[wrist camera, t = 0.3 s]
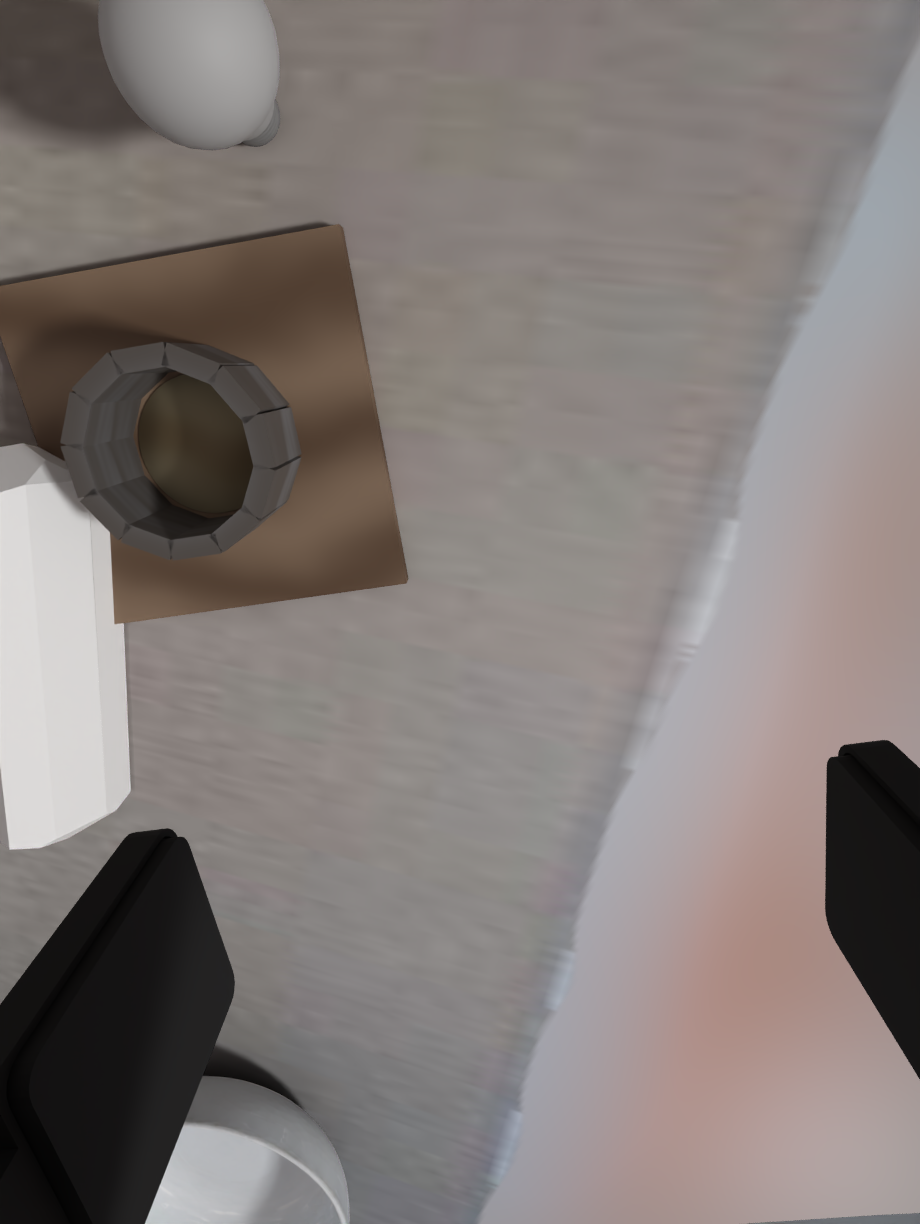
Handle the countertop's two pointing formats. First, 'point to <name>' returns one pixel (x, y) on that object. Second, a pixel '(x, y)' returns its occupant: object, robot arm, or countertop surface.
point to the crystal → (56, 658)
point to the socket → (214, 421)
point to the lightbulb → (195, 68)
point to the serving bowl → (250, 1162)
